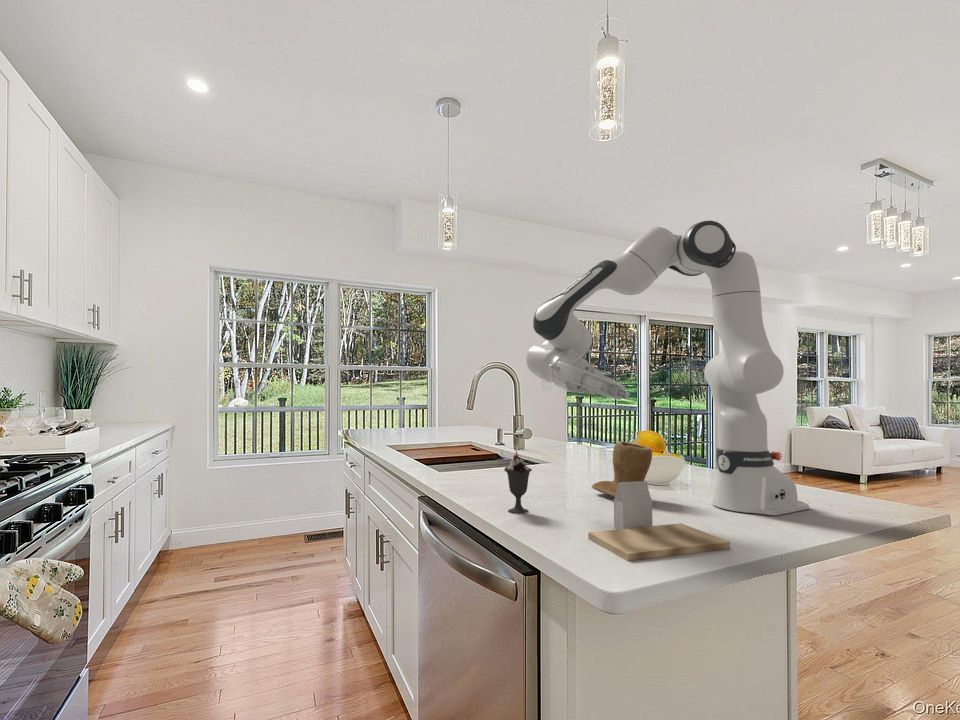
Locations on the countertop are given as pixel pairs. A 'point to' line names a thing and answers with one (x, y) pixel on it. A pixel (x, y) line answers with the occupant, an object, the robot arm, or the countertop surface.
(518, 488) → the sundae
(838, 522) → the countertop surface
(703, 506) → the countertop surface
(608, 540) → the oak board
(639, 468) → the brown suede boot
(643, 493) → the white printed carton
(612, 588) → the countertop surface
